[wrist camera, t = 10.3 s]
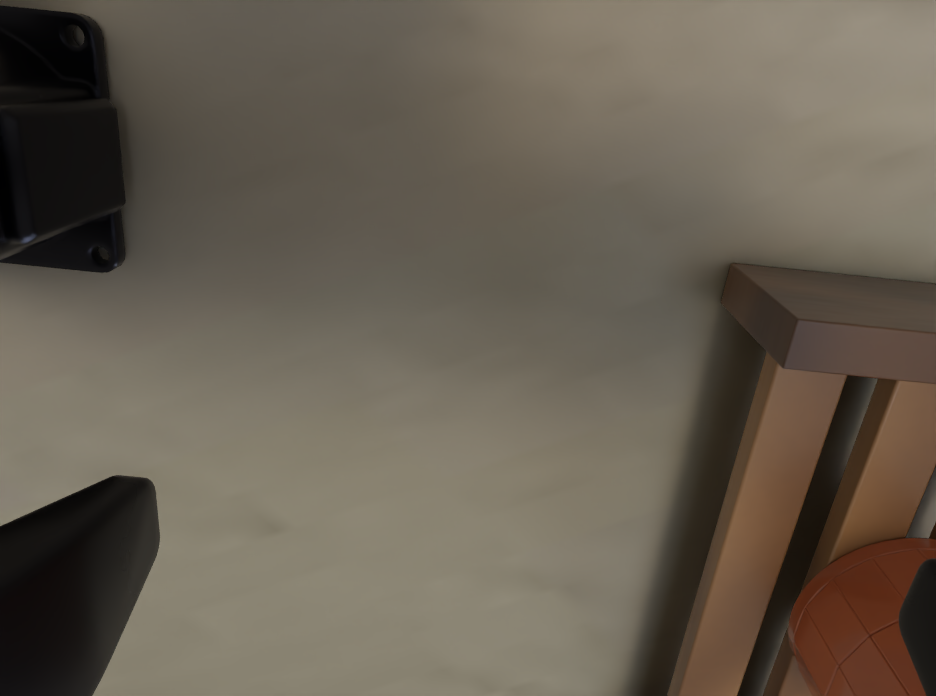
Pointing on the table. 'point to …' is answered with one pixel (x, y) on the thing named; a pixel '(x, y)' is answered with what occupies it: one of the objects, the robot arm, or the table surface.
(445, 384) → the table surface
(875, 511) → the rack
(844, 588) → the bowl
